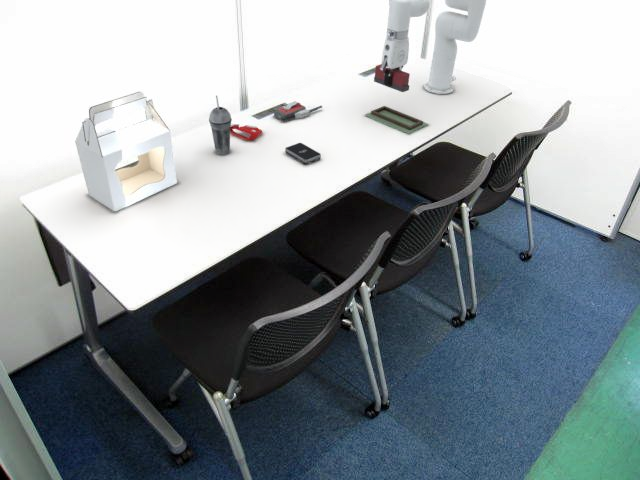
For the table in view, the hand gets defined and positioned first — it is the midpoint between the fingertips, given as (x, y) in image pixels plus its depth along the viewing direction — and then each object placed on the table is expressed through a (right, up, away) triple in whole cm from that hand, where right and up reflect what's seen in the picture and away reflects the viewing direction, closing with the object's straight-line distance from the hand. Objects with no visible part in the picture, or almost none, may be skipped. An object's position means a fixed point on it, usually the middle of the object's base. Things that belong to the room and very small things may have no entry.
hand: (391, 83), depth 202 cm
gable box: (-82, -43, -41) cm, 101 cm away
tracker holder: (-53, -21, -9) cm, 58 cm away
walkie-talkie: (-35, -10, +7) cm, 37 cm away
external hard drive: (-32, -30, -21) cm, 49 cm away
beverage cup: (-59, -29, -20) cm, 69 cm away
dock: (+3, -13, +5) cm, 14 cm away
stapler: (0, -1, 0) cm, 1 cm away
